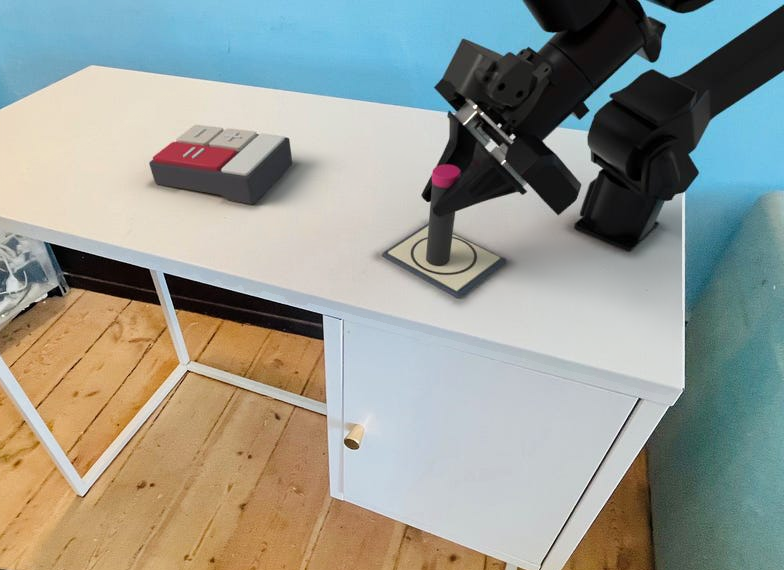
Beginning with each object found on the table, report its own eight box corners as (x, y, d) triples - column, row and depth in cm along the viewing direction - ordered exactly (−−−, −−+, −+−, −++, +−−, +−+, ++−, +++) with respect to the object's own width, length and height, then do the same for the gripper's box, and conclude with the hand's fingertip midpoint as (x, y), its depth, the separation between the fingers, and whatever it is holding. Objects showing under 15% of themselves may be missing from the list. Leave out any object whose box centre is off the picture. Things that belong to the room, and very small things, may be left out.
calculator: (193, 120, 78) (290, 131, 72) (200, 150, 81) (293, 163, 76) (145, 157, 71) (247, 172, 66) (155, 188, 74) (253, 205, 69)
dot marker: (443, 249, 60) (452, 161, 52) (454, 263, 58) (465, 174, 51) (421, 255, 59) (427, 167, 52) (431, 269, 58) (440, 180, 50)
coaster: (505, 262, 59) (507, 257, 58) (458, 298, 55) (459, 293, 55) (429, 225, 64) (430, 220, 64) (381, 256, 61) (382, 251, 60)
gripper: (468, -31, 49) (345, 115, 56) (590, 39, 36) (410, 217, 43) (532, 55, 55) (415, 176, 62) (654, 139, 43) (489, 280, 49)
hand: (429, 206), depth 54 cm, fingers closed on dot marker, 2 cm apart
